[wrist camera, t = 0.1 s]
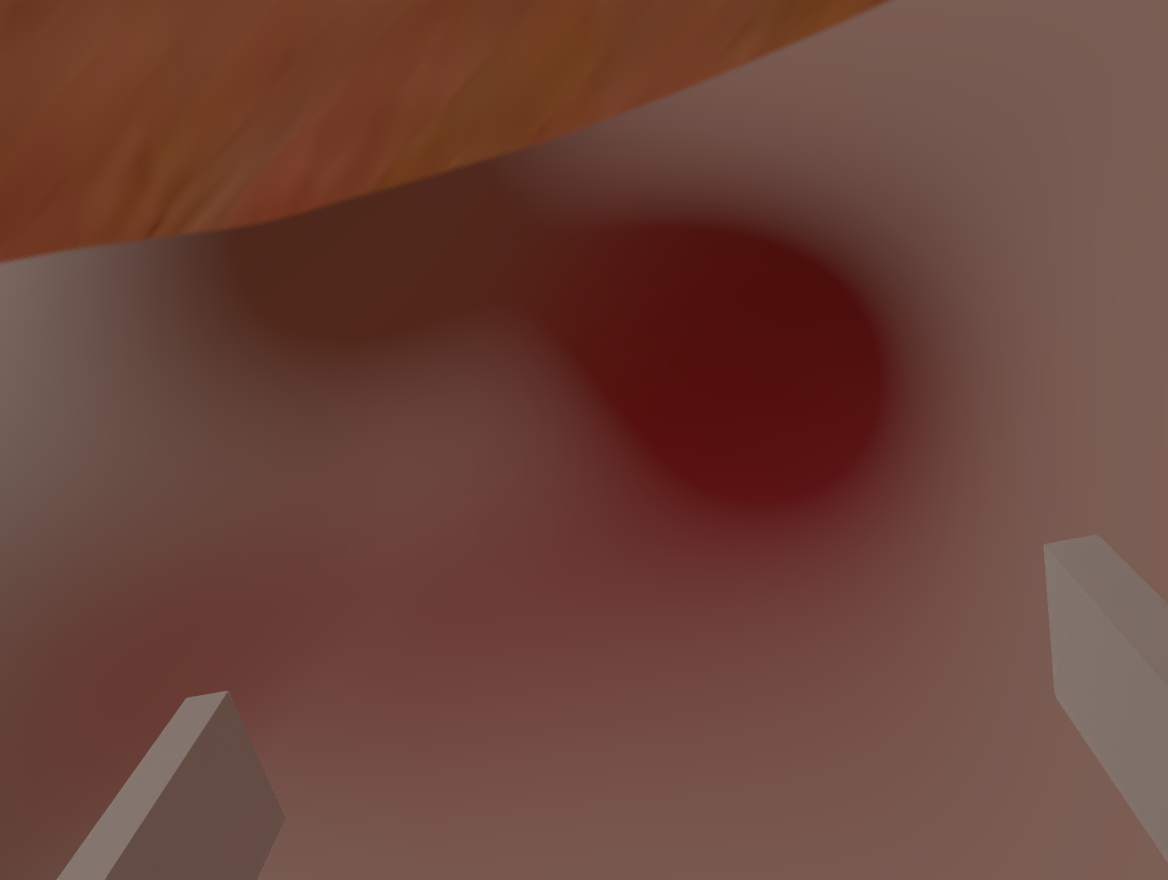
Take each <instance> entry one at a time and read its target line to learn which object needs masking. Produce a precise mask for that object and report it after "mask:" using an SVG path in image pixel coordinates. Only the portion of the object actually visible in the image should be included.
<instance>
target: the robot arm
mask: <svg viewBox="0 0 1168 880" xmlns="http://www.w3.org/2000/svg"><path fill="white" fill-rule="evenodd" d="M1044 556H1045V568H1046V582H1047V596H1048V609H1049V623H1050V636H1051V649H1052V650H1051V651H1052V664H1053V678H1054V691H1055V697H1056V698H1057V699H1058V701H1059V703H1060V704H1061V705H1062V707H1063V708H1064V710H1065V711H1066V713H1067V714H1068V716H1069V717H1070V719H1071V720H1072V722H1073V723H1074V725H1075V726H1076V728H1077V729H1078V731H1079V732H1080V734H1081V735H1082V736H1083V738H1084V739H1085V741H1086V742H1087V744H1088V745H1089V747H1090V748H1091V750H1092V751H1093V753H1094V754H1095V756H1096V757H1097V759H1098V760H1099V761H1100V763H1101V765H1102V766H1103V767H1104V769H1105V771H1106V772H1107V773H1108V775H1109V776H1110V778H1111V779H1112V781H1113V782H1114V784H1115V785H1116V787H1117V788H1118V790H1119V791H1120V793H1121V794H1122V795H1123V797H1124V799H1125V800H1126V802H1127V803H1128V804H1129V806H1130V807H1131V809H1132V810H1133V812H1134V813H1135V815H1136V816H1137V818H1138V819H1139V821H1140V822H1141V824H1142V825H1143V826H1144V828H1145V829H1146V831H1147V833H1148V834H1149V836H1150V837H1151V838H1152V840H1153V841H1154V843H1155V844H1156V846H1157V847H1158V849H1159V850H1160V852H1161V853H1162V855H1163V856H1164V858H1165V859H1166V861H1167V862H1168V605H1167V603H1166V602H1165V601H1164V600H1163V599H1162V598H1161V597H1160V596H1159V595H1158V594H1157V593H1156V592H1155V591H1154V590H1152V588H1151V587H1150V586H1149V585H1148V584H1147V583H1146V582H1145V581H1144V580H1143V579H1142V578H1140V577H1139V575H1138V574H1136V573H1135V572H1134V571H1133V570H1132V569H1131V568H1130V567H1129V566H1128V565H1127V564H1126V563H1125V562H1124V561H1123V560H1122V559H1121V558H1120V557H1119V556H1118V555H1117V554H1116V553H1115V552H1114V551H1113V550H1112V549H1111V548H1110V547H1109V546H1108V545H1107V544H1106V543H1105V542H1104V541H1103V540H1102V539H1101V538H1100V537H1099V536H1098V535H1092V536H1087V537H1081V538H1076V539H1070V540H1065V541H1059V542H1053V543H1048V544H1044ZM284 820H285V817H284V814H283V812H282V810H281V808H280V805H279V803H278V801H277V799H276V797H275V794H274V792H273V790H272V787H271V785H270V783H269V781H268V778H267V776H266V774H265V772H264V769H263V767H262V765H261V763H260V760H259V758H258V756H257V754H256V751H255V749H254V747H253V745H252V743H251V740H250V738H249V736H248V733H247V731H246V729H245V727H244V725H243V722H242V720H241V718H240V715H239V713H238V711H237V709H236V706H235V704H234V702H233V700H232V697H231V695H230V693H229V691H223V692H218V693H213V694H207V695H201V696H195V697H190V698H186V699H185V701H184V702H183V704H182V705H181V706H180V708H179V709H178V711H177V712H176V713H175V715H174V716H173V717H172V719H171V720H170V722H169V723H168V724H167V726H166V727H165V729H164V730H163V732H162V733H161V734H160V736H159V737H158V739H157V740H156V741H155V743H154V744H153V746H152V747H151V748H150V750H149V751H148V752H147V754H146V755H145V757H144V758H143V759H142V761H141V762H140V764H139V765H138V766H137V768H136V769H135V771H134V772H133V773H132V775H131V776H130V778H129V779H128V780H127V782H126V783H125V785H124V786H123V788H122V789H121V790H120V792H119V793H118V795H117V796H116V797H115V799H114V800H113V802H112V803H111V804H110V806H109V807H108V809H107V810H106V811H105V813H104V814H103V816H102V817H101V818H100V820H99V822H98V823H97V824H96V825H95V827H94V828H93V830H92V831H91V833H90V834H89V835H88V837H87V838H86V839H85V841H84V842H83V844H82V845H81V846H80V848H79V849H78V851H77V852H76V853H75V855H74V856H73V858H72V859H71V860H70V862H69V863H68V865H67V866H66V868H65V869H64V870H63V872H62V873H61V874H60V876H59V877H58V879H57V880H257V877H258V875H259V873H260V871H261V869H262V866H263V865H264V862H265V860H266V858H267V856H268V854H269V852H270V849H271V847H272V845H273V843H274V841H275V839H276V837H277V835H278V832H279V830H280V828H281V826H282V824H283V822H284Z"/></svg>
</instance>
